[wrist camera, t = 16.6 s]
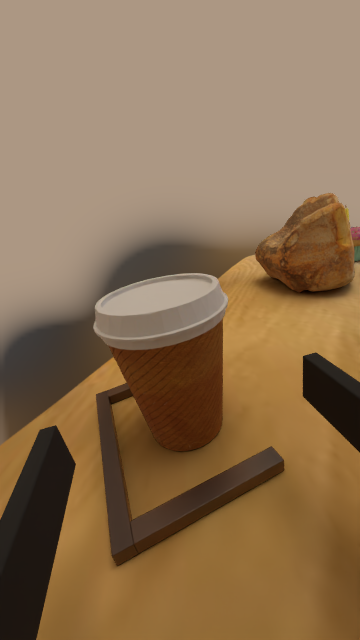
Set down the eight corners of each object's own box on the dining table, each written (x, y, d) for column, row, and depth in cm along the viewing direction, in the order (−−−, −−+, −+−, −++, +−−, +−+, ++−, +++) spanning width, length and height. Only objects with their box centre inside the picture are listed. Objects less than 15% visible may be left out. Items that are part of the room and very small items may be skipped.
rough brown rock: (264, 271, 64) (255, 211, 59) (340, 258, 57) (337, 188, 51) (252, 308, 46) (237, 224, 40) (362, 297, 38) (362, 192, 33)
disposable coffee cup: (116, 470, 19) (56, 327, 14) (150, 387, 27) (120, 281, 23) (246, 474, 16) (226, 307, 12) (239, 383, 25) (225, 265, 20)
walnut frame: (193, 365, 29) (191, 358, 29) (284, 470, 16) (284, 459, 16) (98, 401, 26) (95, 394, 26) (117, 566, 13) (111, 556, 13)
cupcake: (346, 266, 53) (351, 205, 49) (320, 260, 61) (322, 208, 56) (383, 257, 54) (391, 197, 49) (353, 253, 62) (357, 200, 57)
